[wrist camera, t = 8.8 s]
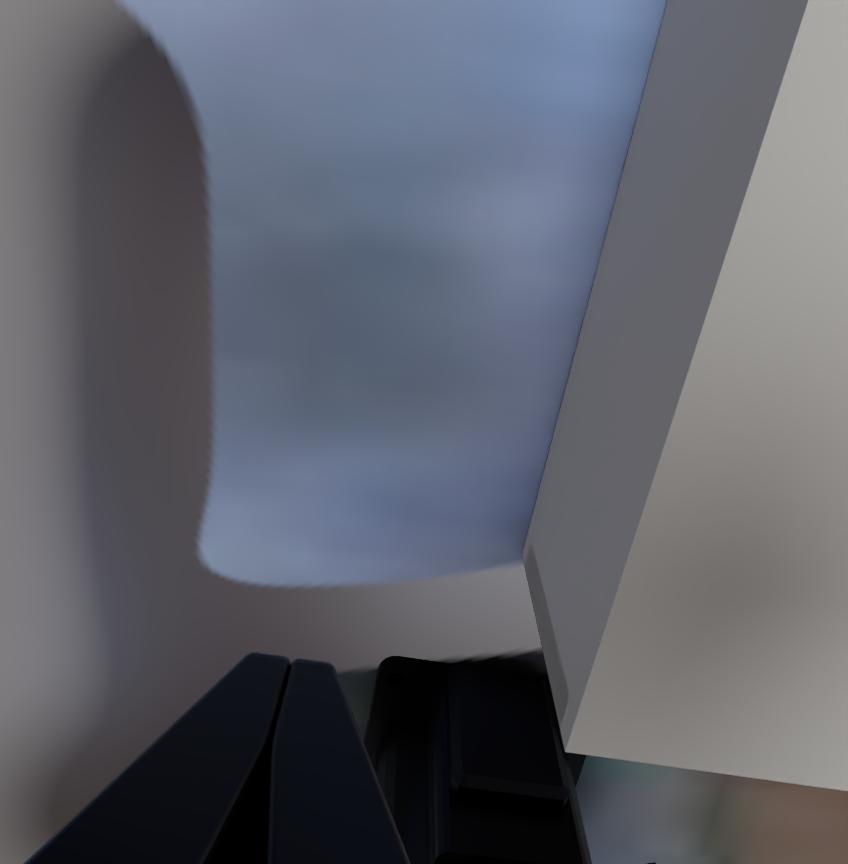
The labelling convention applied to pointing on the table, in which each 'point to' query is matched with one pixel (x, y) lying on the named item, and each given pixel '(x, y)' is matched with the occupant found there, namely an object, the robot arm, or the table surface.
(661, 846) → the table surface
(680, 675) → the cabinet
